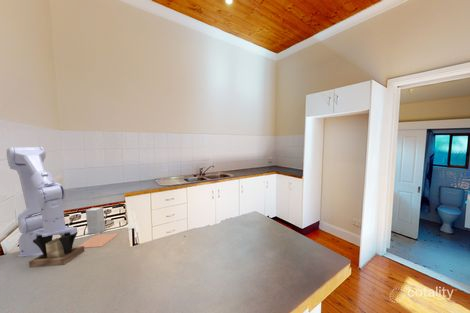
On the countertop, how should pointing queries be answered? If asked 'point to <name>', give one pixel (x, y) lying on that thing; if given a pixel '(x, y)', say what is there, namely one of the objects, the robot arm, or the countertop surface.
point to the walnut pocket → (44, 261)
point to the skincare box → (95, 220)
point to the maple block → (55, 249)
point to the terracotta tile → (98, 240)
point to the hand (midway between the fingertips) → (58, 253)
